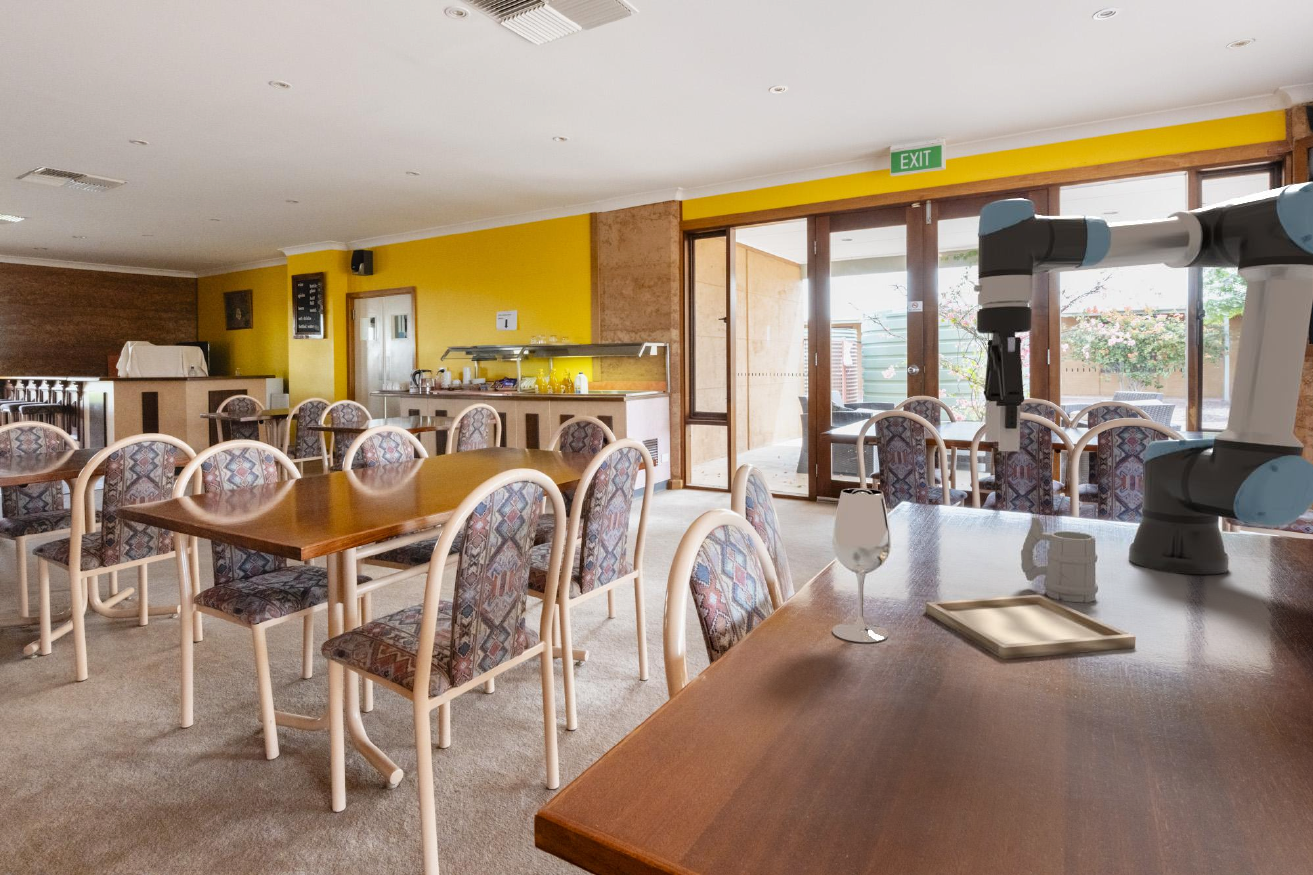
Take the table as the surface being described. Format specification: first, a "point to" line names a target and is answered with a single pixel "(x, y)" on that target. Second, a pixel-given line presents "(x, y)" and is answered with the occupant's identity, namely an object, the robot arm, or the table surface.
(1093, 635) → the square serving tray
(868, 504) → the wineglass
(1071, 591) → the mug
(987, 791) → the table surface
